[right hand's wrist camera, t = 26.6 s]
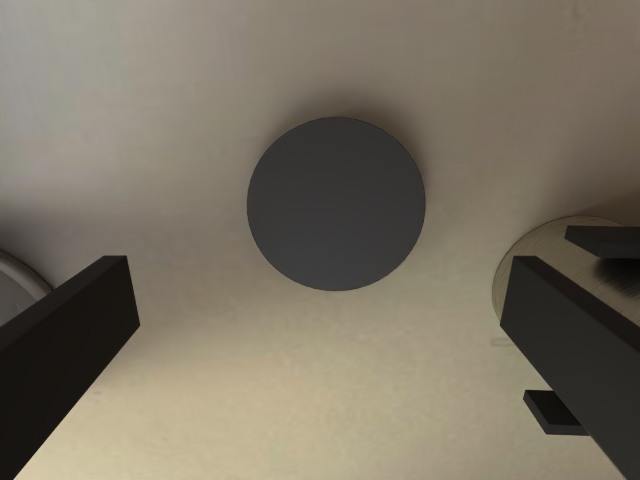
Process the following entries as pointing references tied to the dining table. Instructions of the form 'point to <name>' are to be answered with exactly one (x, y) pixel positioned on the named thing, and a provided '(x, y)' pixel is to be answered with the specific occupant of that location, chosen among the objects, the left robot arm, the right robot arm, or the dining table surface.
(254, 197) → the lid
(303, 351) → the dining table surface
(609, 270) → the jar
